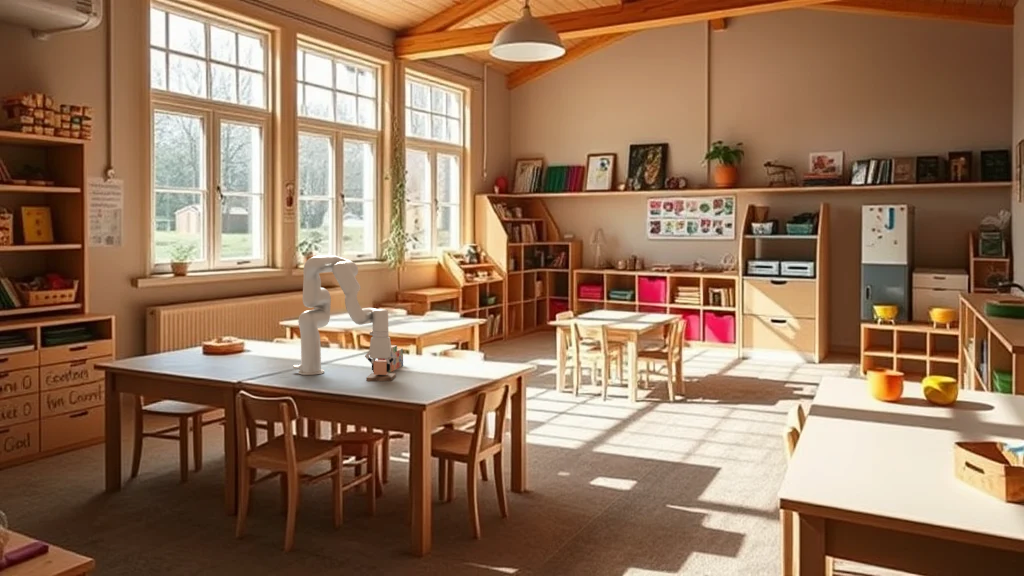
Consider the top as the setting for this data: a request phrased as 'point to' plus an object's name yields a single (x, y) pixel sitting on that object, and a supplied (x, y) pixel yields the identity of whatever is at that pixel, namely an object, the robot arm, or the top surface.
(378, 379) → the base plate
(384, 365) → the reddish brown cube
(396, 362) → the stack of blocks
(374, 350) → the robot arm
